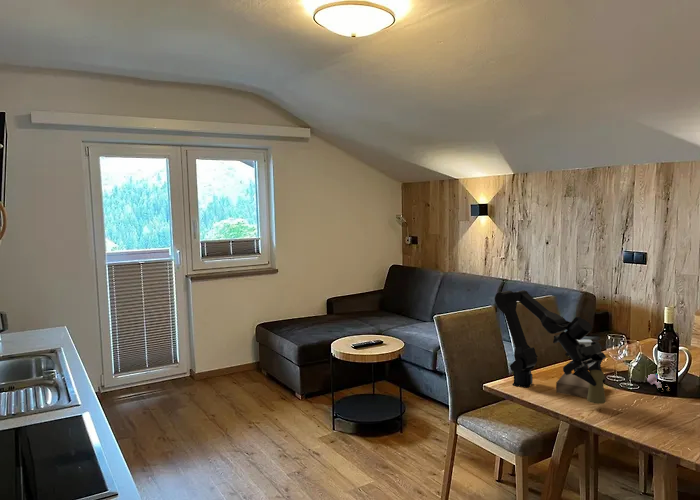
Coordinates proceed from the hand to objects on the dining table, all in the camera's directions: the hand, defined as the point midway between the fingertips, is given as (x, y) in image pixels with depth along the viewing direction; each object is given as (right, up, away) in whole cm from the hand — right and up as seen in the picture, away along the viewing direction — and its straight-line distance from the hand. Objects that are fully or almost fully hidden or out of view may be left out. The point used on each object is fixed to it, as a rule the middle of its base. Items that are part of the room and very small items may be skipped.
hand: (600, 383), depth 183 cm
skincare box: (+16, -5, +48) cm, 51 cm away
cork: (-1, -7, +2) cm, 7 cm away
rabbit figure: (+33, -7, +22) cm, 40 cm away
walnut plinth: (+2, -8, +20) cm, 22 cm away
